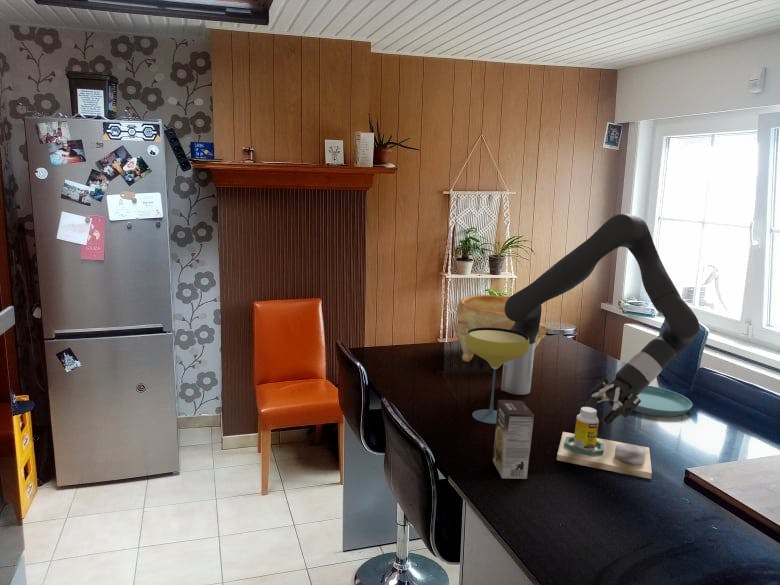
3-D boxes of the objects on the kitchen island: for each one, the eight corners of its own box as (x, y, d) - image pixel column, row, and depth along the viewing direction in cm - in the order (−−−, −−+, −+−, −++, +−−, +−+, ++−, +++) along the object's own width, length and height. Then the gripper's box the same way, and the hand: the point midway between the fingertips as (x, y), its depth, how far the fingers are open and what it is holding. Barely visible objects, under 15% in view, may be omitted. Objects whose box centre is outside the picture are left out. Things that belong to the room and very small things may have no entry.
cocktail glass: (523, 411, 186) (531, 331, 182) (519, 433, 169) (528, 346, 165) (464, 402, 191) (471, 324, 186) (455, 423, 174) (461, 338, 169)
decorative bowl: (433, 347, 253) (436, 293, 249) (508, 345, 264) (513, 293, 260) (467, 373, 221) (472, 311, 217) (551, 369, 232) (557, 310, 228)
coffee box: (491, 461, 151) (497, 399, 148) (516, 461, 151) (522, 399, 149) (501, 479, 142) (507, 413, 139) (528, 479, 143) (534, 413, 140)
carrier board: (556, 460, 153) (558, 445, 153) (562, 436, 168) (563, 423, 168) (651, 478, 146) (653, 463, 145) (648, 452, 161) (650, 438, 160)
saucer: (643, 422, 183) (645, 411, 183) (595, 394, 206) (596, 385, 205) (708, 417, 190) (710, 407, 190) (655, 391, 213) (656, 382, 212)
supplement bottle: (586, 453, 155) (590, 414, 153) (568, 444, 159) (573, 407, 158) (600, 448, 158) (604, 411, 156) (582, 440, 163) (587, 404, 161)
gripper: (614, 355, 164) (571, 397, 163) (648, 371, 151) (602, 417, 150) (629, 373, 166) (587, 415, 166) (664, 391, 153) (618, 437, 152)
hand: (594, 416), depth 158 cm, fingers open, 8 cm apart
